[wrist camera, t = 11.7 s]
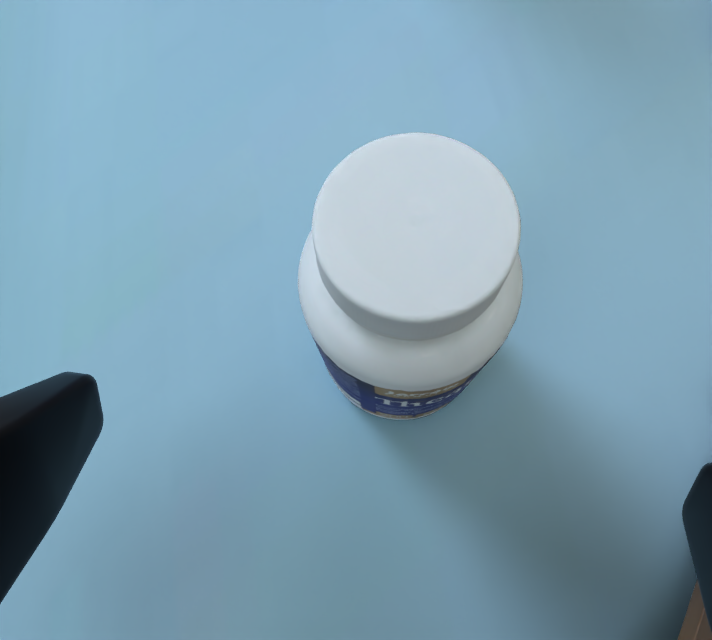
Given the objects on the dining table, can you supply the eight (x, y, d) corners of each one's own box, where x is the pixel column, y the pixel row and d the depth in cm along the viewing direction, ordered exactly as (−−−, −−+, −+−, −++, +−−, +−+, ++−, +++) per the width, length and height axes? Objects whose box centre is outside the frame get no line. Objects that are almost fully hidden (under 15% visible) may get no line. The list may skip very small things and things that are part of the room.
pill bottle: (379, 453, 19) (377, 421, 9) (297, 327, 20) (223, 190, 11) (507, 366, 19) (624, 255, 10) (418, 250, 21) (448, 57, 11)
